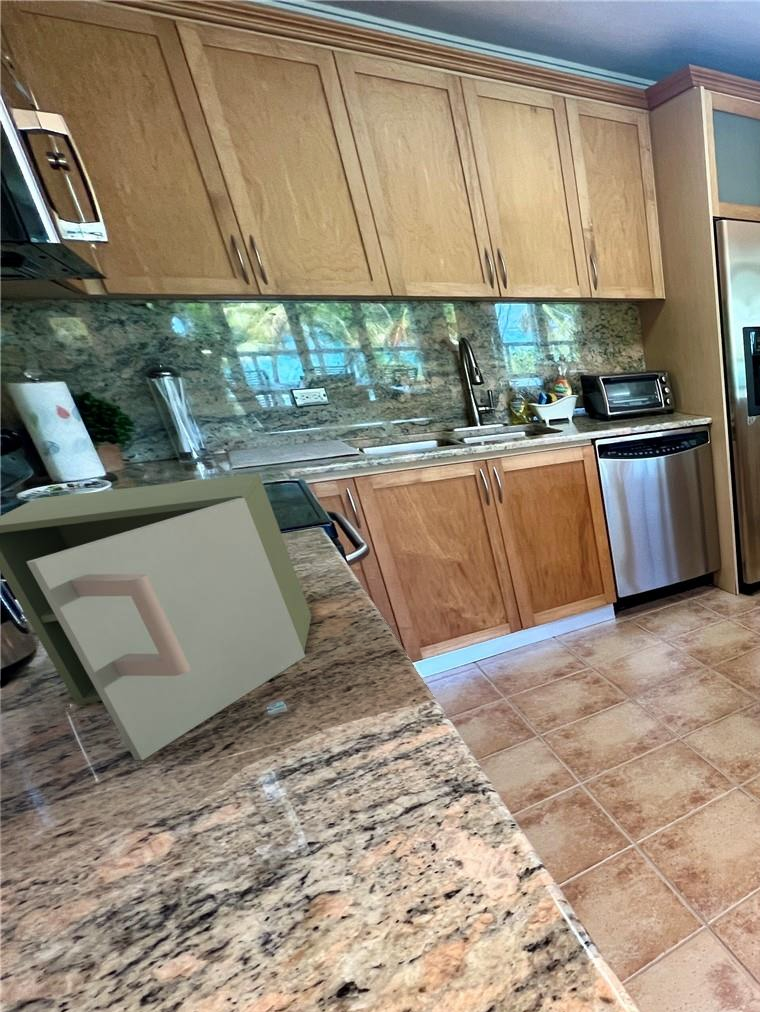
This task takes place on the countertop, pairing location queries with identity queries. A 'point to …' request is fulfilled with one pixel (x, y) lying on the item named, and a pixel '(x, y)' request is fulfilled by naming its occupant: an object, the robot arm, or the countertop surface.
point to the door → (172, 619)
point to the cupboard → (112, 513)
